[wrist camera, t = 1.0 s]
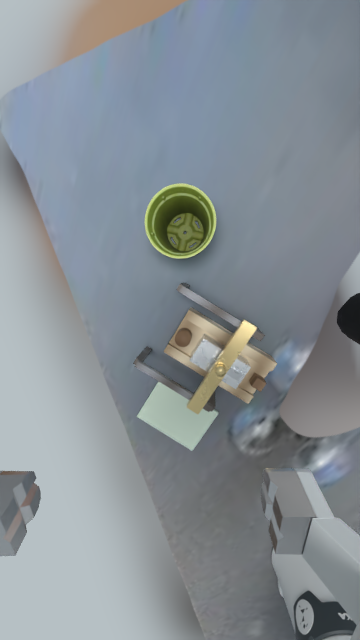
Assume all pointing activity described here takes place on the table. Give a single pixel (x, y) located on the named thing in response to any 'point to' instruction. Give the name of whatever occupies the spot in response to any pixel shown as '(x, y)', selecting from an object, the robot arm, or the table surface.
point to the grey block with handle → (209, 353)
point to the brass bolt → (221, 366)
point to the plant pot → (180, 221)
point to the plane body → (200, 324)
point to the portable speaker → (350, 318)
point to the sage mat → (175, 416)
